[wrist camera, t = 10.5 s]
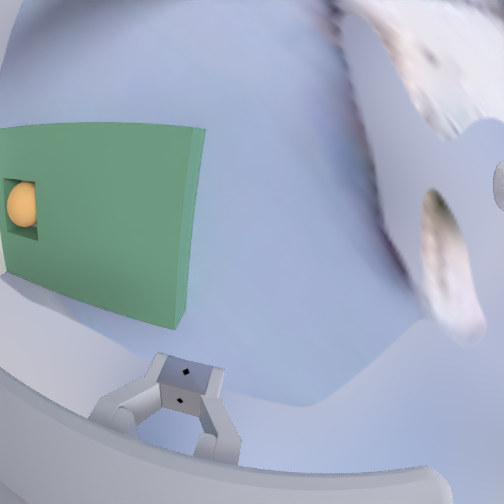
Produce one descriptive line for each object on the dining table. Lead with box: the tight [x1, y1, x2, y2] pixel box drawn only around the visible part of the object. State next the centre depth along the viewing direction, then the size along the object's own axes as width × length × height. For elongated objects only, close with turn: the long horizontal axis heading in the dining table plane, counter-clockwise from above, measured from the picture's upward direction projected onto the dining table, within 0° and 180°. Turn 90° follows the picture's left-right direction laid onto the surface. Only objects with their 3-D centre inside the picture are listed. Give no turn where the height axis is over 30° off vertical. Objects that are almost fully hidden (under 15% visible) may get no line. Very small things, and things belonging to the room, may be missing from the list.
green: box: [0, 122, 206, 330], centre depth 23 cm, size 18×26×6 cm
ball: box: [7, 181, 37, 227], centre depth 24 cm, size 5×5×5 cm
